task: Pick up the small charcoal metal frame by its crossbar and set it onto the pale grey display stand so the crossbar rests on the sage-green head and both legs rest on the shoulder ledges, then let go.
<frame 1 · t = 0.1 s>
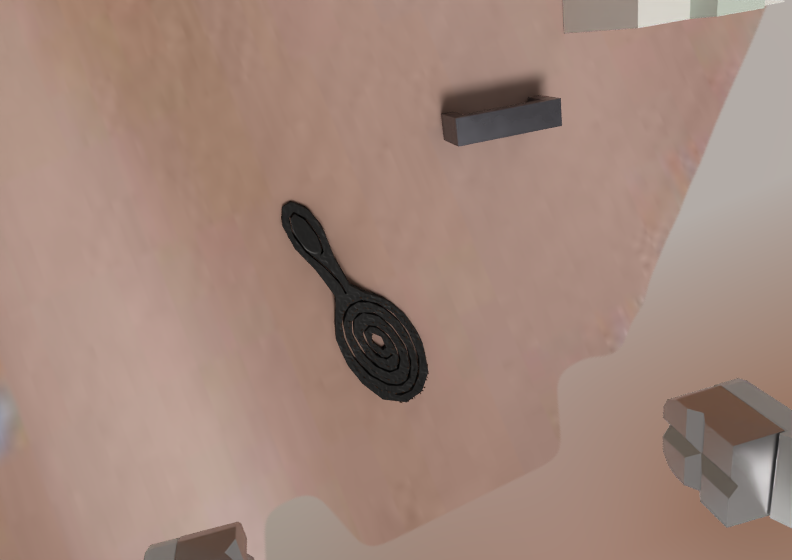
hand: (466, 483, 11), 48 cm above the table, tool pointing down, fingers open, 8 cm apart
frame: (491, 117, 58), on the table
hairbrush: (351, 299, 62), on the table
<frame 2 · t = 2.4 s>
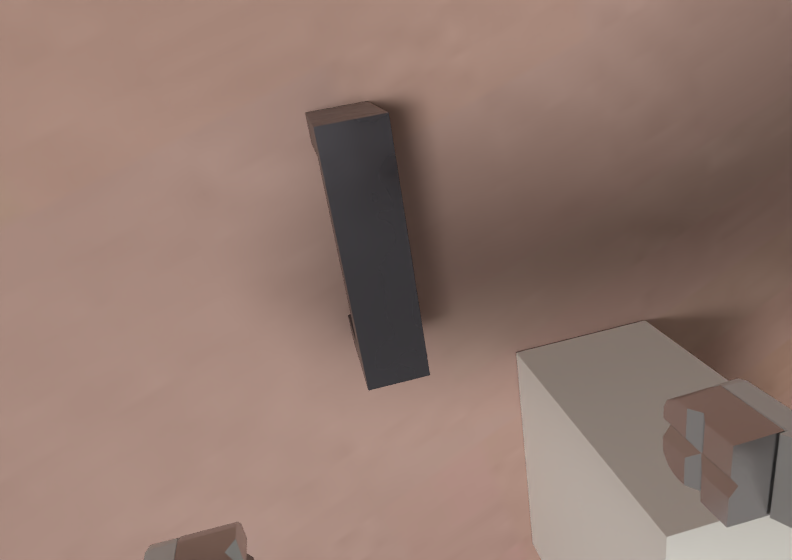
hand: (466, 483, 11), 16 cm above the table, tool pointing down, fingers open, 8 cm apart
frame: (359, 228, 25), on the table
stand: (585, 439, 32), on the table
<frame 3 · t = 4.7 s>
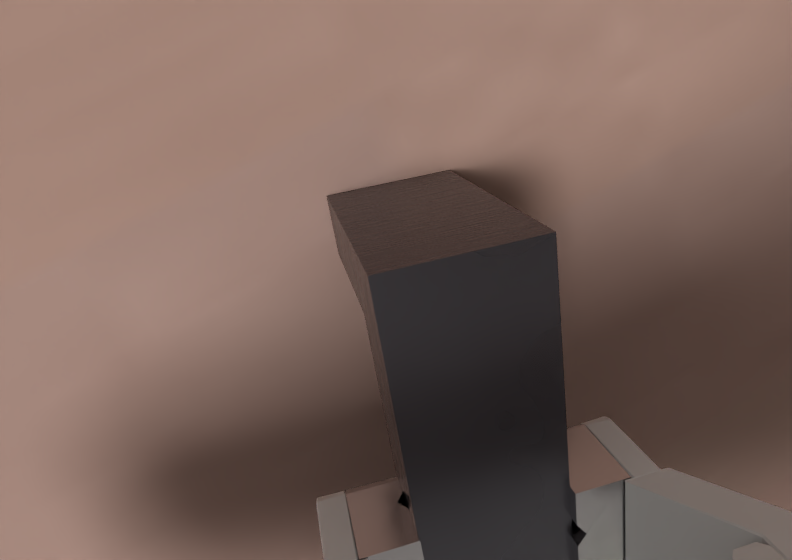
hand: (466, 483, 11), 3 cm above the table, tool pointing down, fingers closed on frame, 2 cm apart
frame: (425, 399, 13), on the table, touching gripper
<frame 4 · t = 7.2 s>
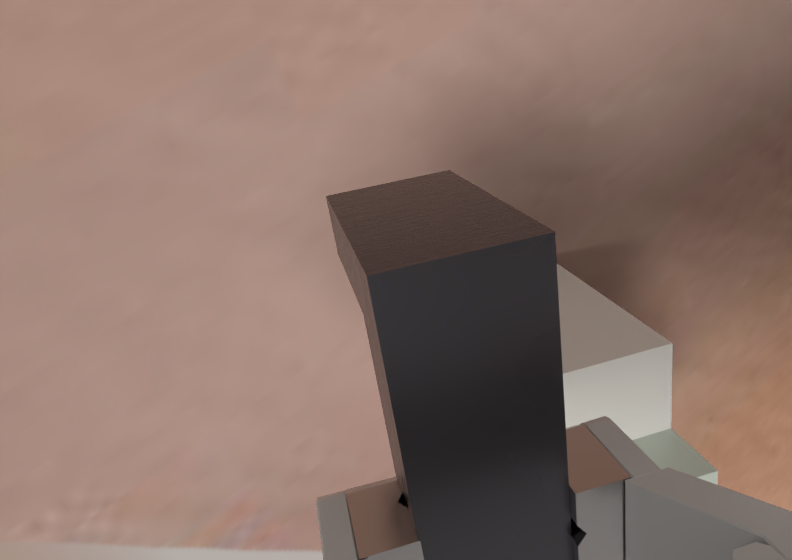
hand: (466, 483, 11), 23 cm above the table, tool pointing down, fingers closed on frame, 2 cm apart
frame: (424, 399, 13), point 20 cm above the table, touching gripper
stand: (502, 360, 38), on the table
when the fingers open (16 cm above the table, at t = 10.0 s): frame drops 1 cm, resting on stand.
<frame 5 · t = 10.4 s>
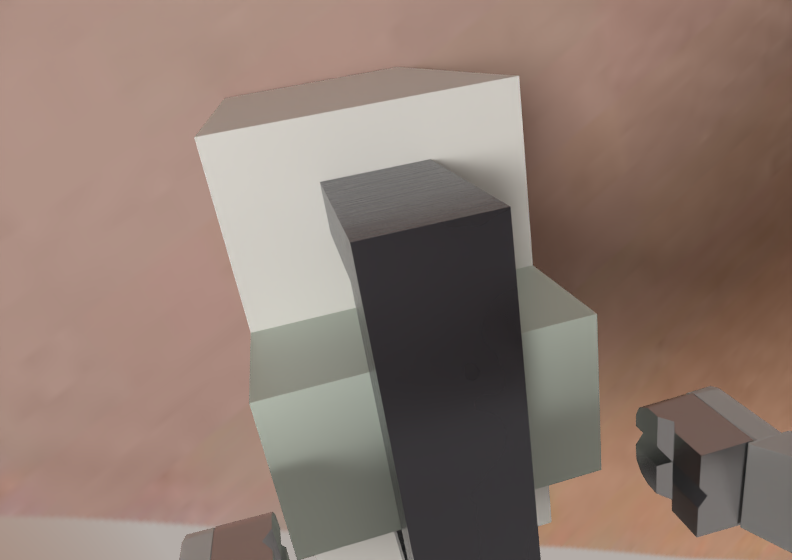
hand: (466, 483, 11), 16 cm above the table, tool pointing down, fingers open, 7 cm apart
frame: (410, 368, 15), point 12 cm above the table, touching stand
stand: (344, 235, 26), on the table
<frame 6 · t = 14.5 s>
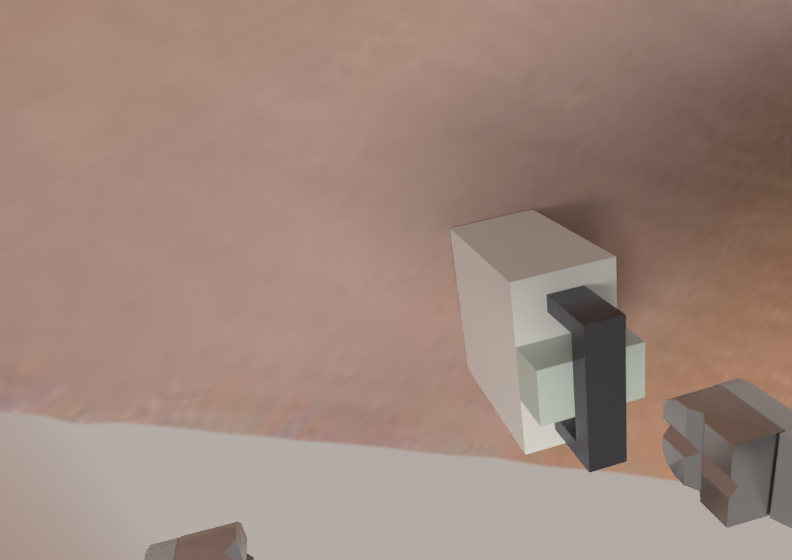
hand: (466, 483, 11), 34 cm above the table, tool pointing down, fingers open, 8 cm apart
frame: (568, 360, 38), point 12 cm above the table, touching stand
stand: (498, 292, 49), on the table
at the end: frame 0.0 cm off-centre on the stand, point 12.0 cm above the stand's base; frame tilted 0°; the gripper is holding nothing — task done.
